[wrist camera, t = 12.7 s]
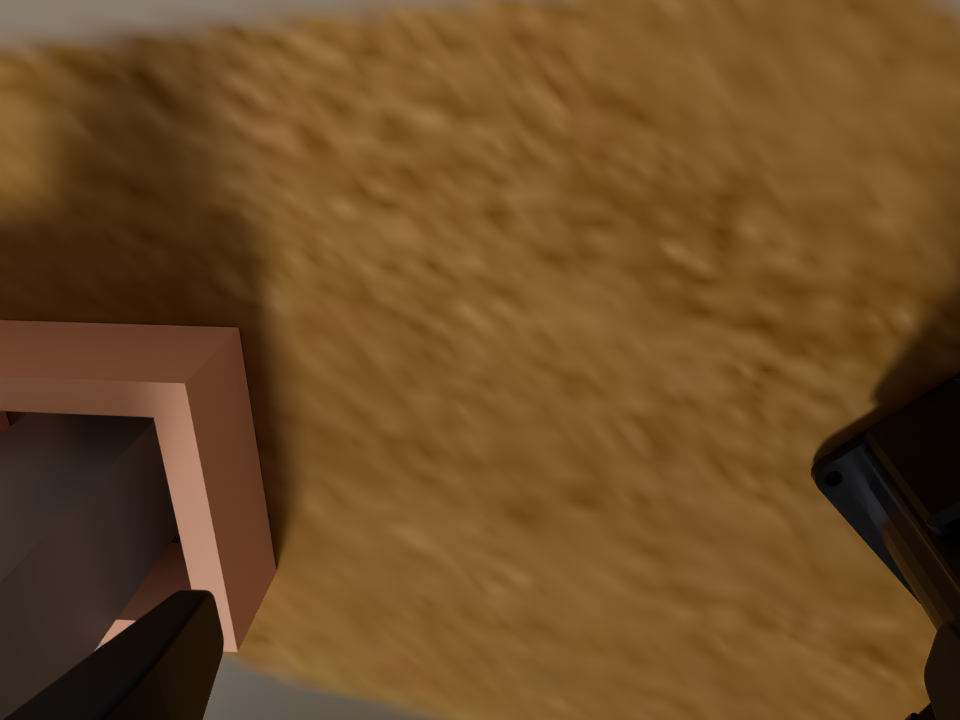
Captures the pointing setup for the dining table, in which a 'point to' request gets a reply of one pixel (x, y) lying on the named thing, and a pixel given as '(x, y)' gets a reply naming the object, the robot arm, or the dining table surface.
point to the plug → (73, 538)
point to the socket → (165, 444)
